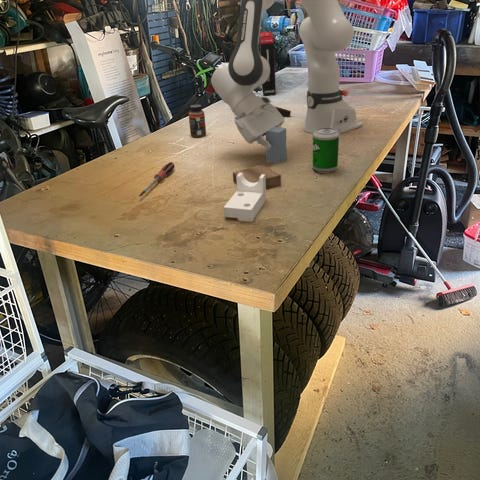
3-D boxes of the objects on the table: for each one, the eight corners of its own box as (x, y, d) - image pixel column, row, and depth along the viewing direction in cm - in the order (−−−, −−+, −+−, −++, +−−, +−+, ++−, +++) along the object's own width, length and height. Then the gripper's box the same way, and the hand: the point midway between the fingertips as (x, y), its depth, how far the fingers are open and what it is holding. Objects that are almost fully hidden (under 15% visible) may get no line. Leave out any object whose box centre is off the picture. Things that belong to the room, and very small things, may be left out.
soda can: (339, 166, 145) (341, 127, 139) (335, 175, 139) (337, 134, 133) (314, 164, 148) (315, 126, 142) (309, 173, 141) (310, 133, 136)
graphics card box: (276, 95, 232) (275, 35, 219) (262, 96, 232) (259, 36, 219) (274, 88, 247) (273, 31, 234) (261, 89, 247) (259, 32, 234)
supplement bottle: (204, 138, 178) (201, 107, 173) (188, 138, 179) (185, 107, 174) (208, 133, 183) (205, 103, 178) (193, 133, 185) (190, 103, 179)
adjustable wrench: (285, 129, 199) (232, 113, 206) (288, 127, 201) (235, 111, 208) (289, 109, 194) (234, 94, 201) (291, 107, 197) (237, 92, 204)
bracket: (240, 198, 129) (239, 172, 125) (266, 201, 127) (265, 174, 123) (224, 220, 118) (222, 192, 115) (251, 222, 116) (250, 194, 112)
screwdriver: (145, 201, 130) (143, 191, 129) (135, 201, 131) (133, 191, 130) (177, 169, 151) (176, 160, 150) (168, 168, 152) (167, 159, 151)
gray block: (273, 156, 156) (272, 126, 151) (286, 158, 154) (286, 128, 149) (266, 161, 152) (265, 130, 148) (279, 163, 150) (279, 132, 145)
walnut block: (262, 174, 143) (262, 164, 141) (280, 184, 135) (280, 174, 134) (233, 182, 139) (232, 172, 137) (250, 193, 131) (249, 183, 130)
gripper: (237, 111, 140) (268, 147, 140) (270, 96, 155) (297, 128, 155) (226, 125, 144) (255, 160, 145) (259, 108, 159) (285, 140, 160)
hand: (277, 143), depth 150 cm, fingers open, 8 cm apart
